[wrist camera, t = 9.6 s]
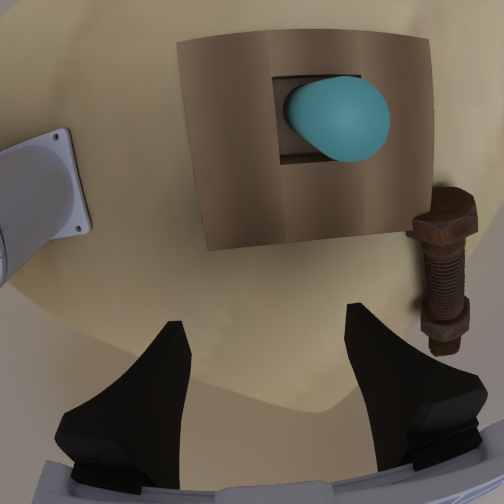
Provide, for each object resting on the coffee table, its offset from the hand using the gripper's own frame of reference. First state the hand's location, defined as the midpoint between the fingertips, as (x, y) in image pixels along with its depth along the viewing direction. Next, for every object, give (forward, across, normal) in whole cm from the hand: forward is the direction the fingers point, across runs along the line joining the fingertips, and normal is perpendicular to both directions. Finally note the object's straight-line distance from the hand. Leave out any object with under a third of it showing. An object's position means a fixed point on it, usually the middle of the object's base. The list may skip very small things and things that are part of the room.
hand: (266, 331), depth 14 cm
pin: (+9, -4, -8) cm, 13 cm away
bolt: (+10, -14, +5) cm, 18 cm away
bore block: (+10, -4, -7) cm, 13 cm away
